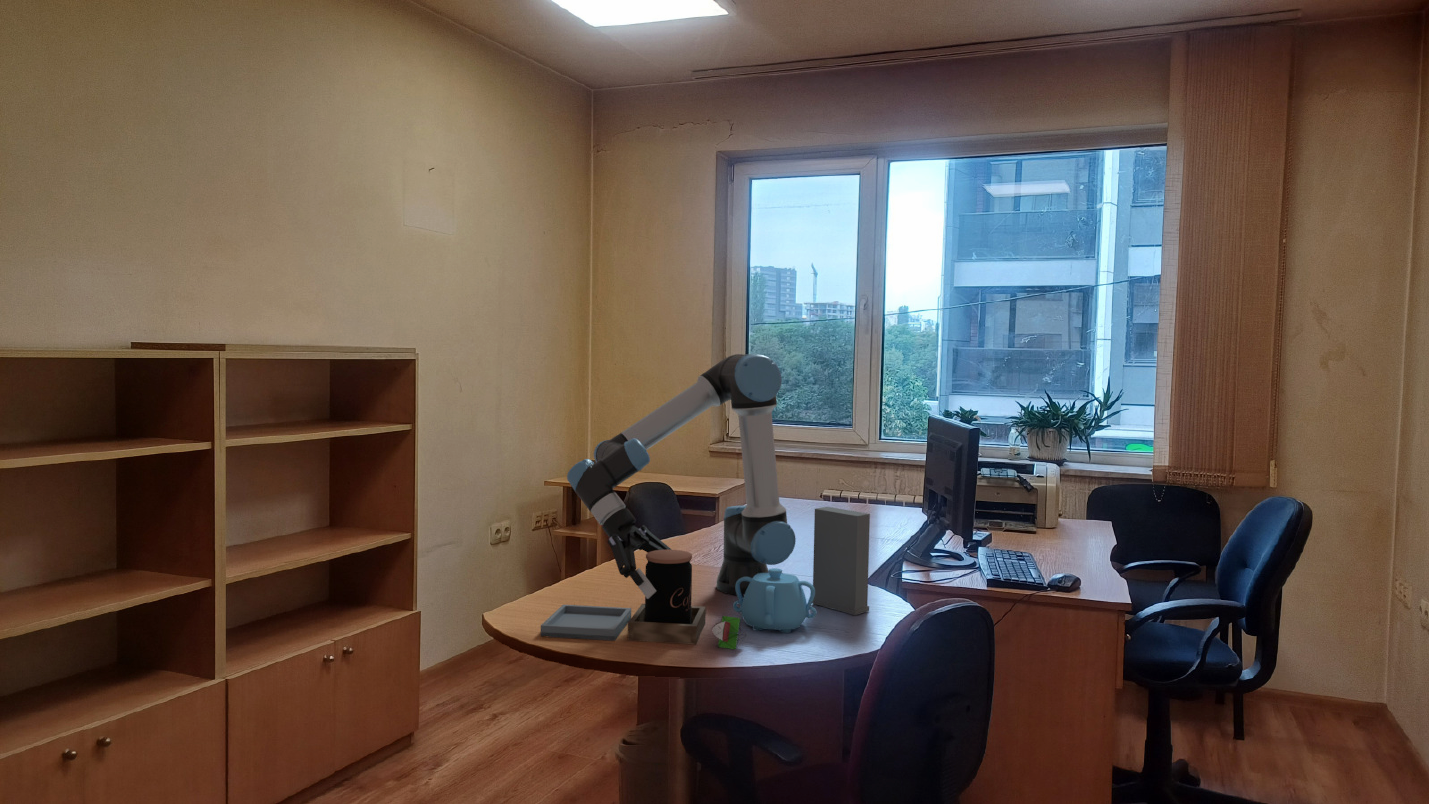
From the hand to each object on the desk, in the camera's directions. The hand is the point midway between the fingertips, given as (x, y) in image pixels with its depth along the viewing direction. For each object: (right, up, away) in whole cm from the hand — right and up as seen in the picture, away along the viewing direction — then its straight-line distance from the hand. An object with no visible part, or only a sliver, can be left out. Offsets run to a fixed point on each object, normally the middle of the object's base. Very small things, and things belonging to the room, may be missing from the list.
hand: (667, 588), depth 198 cm
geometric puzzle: (+14, -11, -9) cm, 20 cm away
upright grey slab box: (+43, -10, +23) cm, 50 cm away
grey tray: (-19, -10, +3) cm, 22 cm away
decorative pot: (+25, -11, +7) cm, 28 cm away
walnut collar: (0, -10, +1) cm, 10 cm away
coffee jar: (0, -10, +1) cm, 10 cm away
